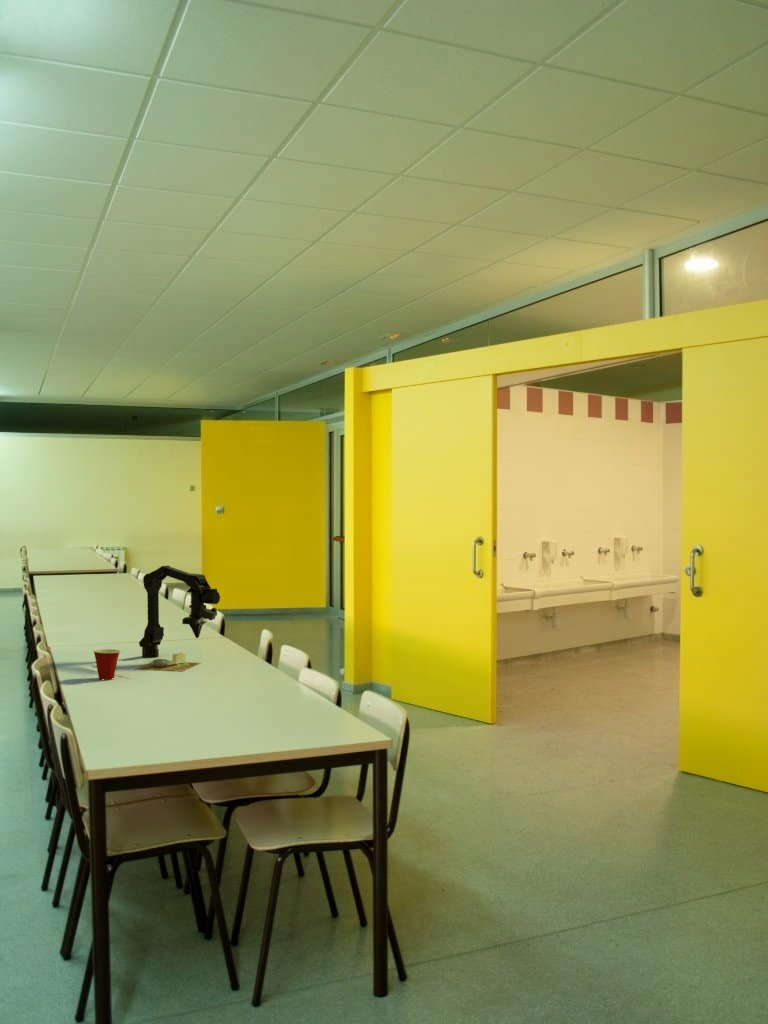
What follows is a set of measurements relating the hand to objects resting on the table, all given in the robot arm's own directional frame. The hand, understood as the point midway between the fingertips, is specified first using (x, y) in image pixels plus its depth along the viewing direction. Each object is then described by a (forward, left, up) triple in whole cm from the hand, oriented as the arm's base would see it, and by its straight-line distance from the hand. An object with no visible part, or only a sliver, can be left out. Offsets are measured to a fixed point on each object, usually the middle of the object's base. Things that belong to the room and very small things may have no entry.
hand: (197, 637), depth 384 cm
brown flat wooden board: (-8, -12, -12) cm, 19 cm away
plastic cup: (-23, -37, -12) cm, 45 cm away
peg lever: (-9, -10, -11) cm, 17 cm away
